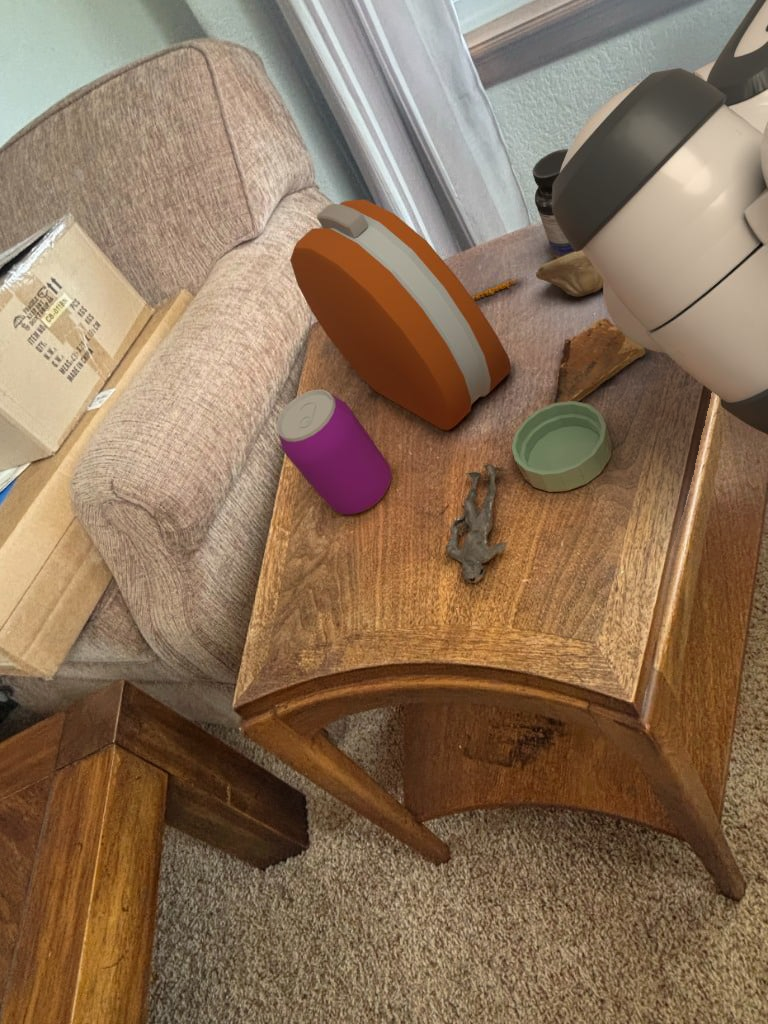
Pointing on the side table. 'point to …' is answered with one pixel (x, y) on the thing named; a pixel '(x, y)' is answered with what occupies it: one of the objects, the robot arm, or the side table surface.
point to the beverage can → (333, 451)
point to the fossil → (572, 274)
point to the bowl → (562, 446)
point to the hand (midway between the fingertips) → (588, 174)
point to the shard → (593, 360)
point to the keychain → (490, 291)
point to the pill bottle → (550, 200)
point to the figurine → (475, 530)
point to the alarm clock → (398, 312)
